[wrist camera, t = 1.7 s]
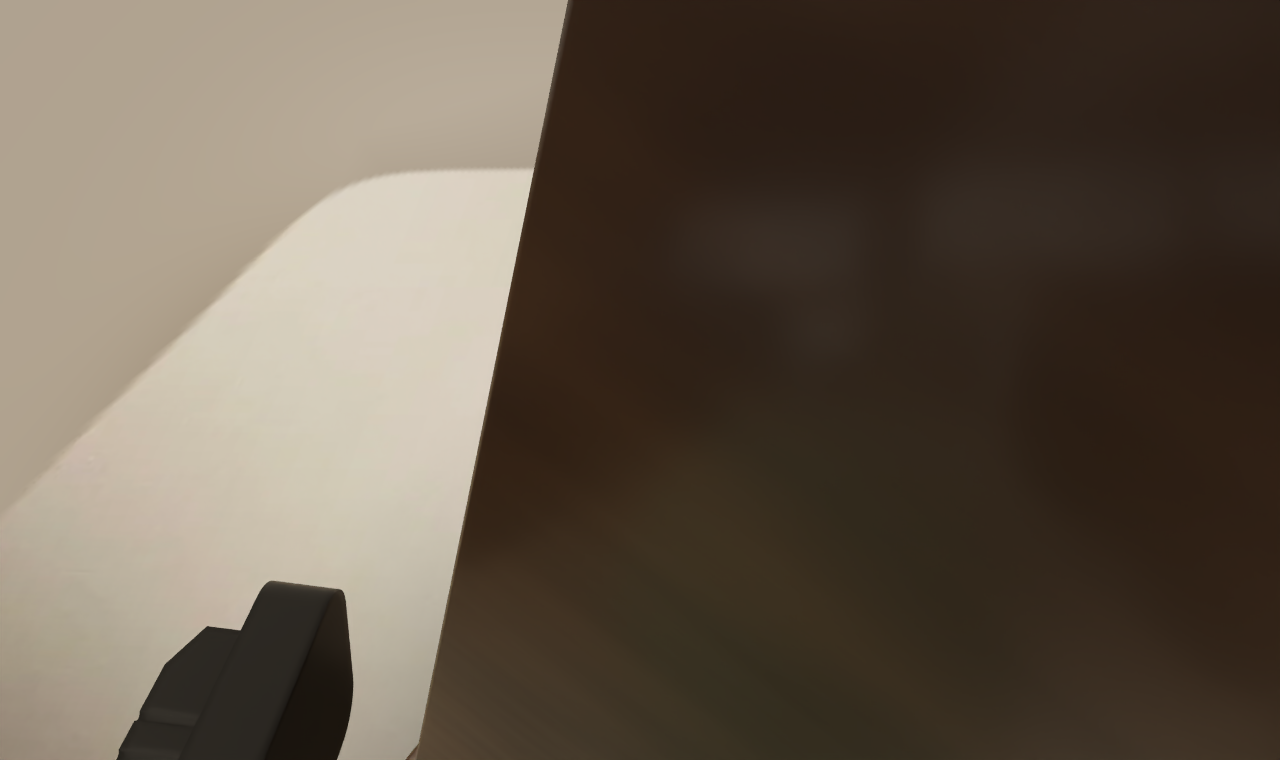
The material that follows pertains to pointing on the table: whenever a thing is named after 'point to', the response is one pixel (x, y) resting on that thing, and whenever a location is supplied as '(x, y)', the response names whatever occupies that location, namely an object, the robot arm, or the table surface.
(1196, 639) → the stand
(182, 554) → the table surface
